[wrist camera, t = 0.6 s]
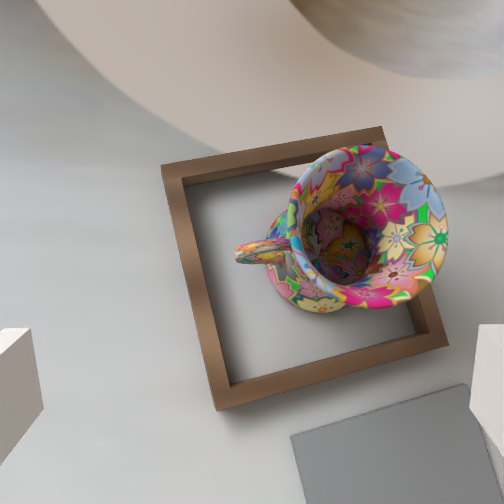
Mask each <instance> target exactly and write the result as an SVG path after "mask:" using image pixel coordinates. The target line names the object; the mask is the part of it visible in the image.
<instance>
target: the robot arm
mask: <svg viewBox="0 0 504 504" xmlns="http://www.w3.org/2000/svg"><path fill="white" fill-rule="evenodd" d="M469 408H470V410H471V411H472V412H473V414H474V415H475V417H476V418H477V420H478V421H479V422H480V424H481V425H482V427H483V428H484V430H485V431H486V432H487V434H488V435H489V437H490V438H491V440H492V441H493V442H494V444H495V445H496V447H497V448H498V450H499V451H500V452H501V454H502V455H503V457H504V324H479V331H478V339H477V347H476V355H475V364H474V372H473V380H472V388H471V397H470V405H469ZM43 409H44V408H43V401H42V395H41V389H40V383H39V377H38V371H37V365H36V359H35V353H34V347H33V341H32V335H31V329H30V328H4V329H3V330H2V331H1V332H0V465H1V464H2V463H3V461H4V460H5V459H6V457H7V456H8V455H9V453H10V452H11V451H12V450H13V448H14V447H15V446H16V444H17V443H18V442H19V440H20V439H21V438H22V436H23V435H24V434H25V432H26V431H27V430H28V429H29V427H30V426H31V425H32V423H33V422H34V421H35V419H36V418H37V417H38V415H39V414H40V413H41V412H42V410H43Z"/></svg>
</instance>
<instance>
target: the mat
mask: <svg viewBox="0 0 504 504" xmlns="http://www.w3.org/2000/svg"><path fill="white" fill-rule="evenodd" d="M469 405H470V394H469V390H468V387H467V384H460V385H456V386H453V387H450V388H447V389H443V390H440V391H437V392H433V393H430V394H427V395H424V396H420V397H417V398H414V399H410V400H407V401H404V402H400V403H397V404H394V405H391V406H387V407H384V408H381V409H377V410H374V411H371V412H368V413H364V414H361V415H358V416H354V417H351V418H348V419H344V420H341V421H338V422H335V423H331V424H328V425H325V426H321V427H318V428H315V429H312V430H308V431H305V432H302V433H298V434H295V435H292V436H290V438H291V442H292V446H293V450H294V454H295V458H296V462H297V466H298V470H299V474H300V478H301V482H302V486H303V490H304V494H305V498H306V502H307V504H504V503H503V500H502V497H501V494H500V491H499V487H498V484H497V481H496V478H495V474H494V471H493V468H492V465H491V461H490V458H489V455H488V452H487V449H486V445H485V442H484V439H483V436H482V432H481V429H480V426H479V423H478V420H477V418H476V417H475V415H474V414H473V412H472V411H471V410H470V408H469Z"/></svg>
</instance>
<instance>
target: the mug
mask: <svg viewBox="0 0 504 504" xmlns="http://www.w3.org/2000/svg"><path fill="white" fill-rule="evenodd" d="M447 244H448V224H447V218H446V213H445V210H444V206H443V204H442V201H441V199H440V196H439V195H438V193H437V191H436V189H435V187H434V186H433V184H432V183H431V182H430V180H429V179H428V178H427V177H426V175H425V174H424V173H423V172H422V171H421V170H420V169H419V168H417V166H415V165H414V164H413V163H411V162H410V161H409V160H407V159H405V158H404V157H402V156H400V155H398V154H396V153H394V152H392V151H389V150H386V149H383V148H379V147H374V146H365V145H357V146H348V147H343V148H340V149H336V150H334V151H331V152H329V153H327V154H325V155H323V156H322V157H320V158H319V159H317V160H316V161H315V162H313V163H312V164H311V165H310V166H309V167H308V168H307V169H306V170H305V172H304V173H303V174H302V175H301V177H300V178H299V180H298V181H297V183H296V185H295V187H294V189H293V192H292V194H291V197H290V201H289V205H288V209H287V210H286V211H285V212H283V213H282V214H281V215H280V216H279V217H278V218H277V219H276V220H275V222H274V223H273V225H272V226H271V228H270V230H269V232H268V235H267V238H266V240H260V241H255V242H251V243H248V244H244V245H241V246H239V247H237V248H236V249H235V250H234V258H235V260H236V261H237V262H238V263H242V264H265V266H266V270H267V273H268V276H269V278H270V280H271V282H272V284H273V285H274V287H275V288H276V290H277V291H278V292H279V293H280V294H281V295H282V296H283V297H284V298H285V299H286V300H287V301H289V302H290V303H292V304H293V305H295V306H297V307H299V308H301V309H304V310H307V311H311V312H318V313H326V312H333V311H337V310H340V309H343V308H345V307H347V306H349V305H351V306H355V307H359V308H366V309H382V308H389V307H393V306H397V305H400V304H402V303H405V302H407V301H409V300H411V299H413V298H414V297H416V296H417V295H419V294H420V293H421V292H422V291H423V290H425V289H426V288H427V286H428V285H429V284H430V283H431V282H432V281H433V279H434V278H435V276H436V275H437V273H438V272H439V270H440V268H441V266H442V263H443V260H444V258H445V254H446V250H447Z"/></svg>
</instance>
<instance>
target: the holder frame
mask: <svg viewBox="0 0 504 504" xmlns="http://www.w3.org/2000/svg"><path fill="white" fill-rule="evenodd" d="M357 145H365V146H374V147H379V148H383V149H386V150H389V148H388V145H387V142H386V139H385V136H384V132H383V129H382V126H379V127H373V128H367V129H362V130H356V131H351V132H345V133H339V134H333V135H328V136H322V137H316V138H311V139H305V140H300V141H294V142H288V143H283V144H277V145H271V146H266V147H260V148H255V149H249V150H243V151H238V152H232V153H226V154H221V155H215V156H209V157H204V158H198V159H193V160H187V161H181V162H176V163H170V164H164V165H161V173H162V179H163V183H164V187H165V192H166V196H167V200H168V205H169V209H170V214H171V218H172V222H173V227H174V231H175V236H176V240H177V244H178V249H179V253H180V258H181V262H182V266H183V271H184V275H185V280H186V284H187V288H188V293H189V297H190V301H191V306H192V310H193V315H194V319H195V323H196V328H197V332H198V337H199V341H200V345H201V350H202V354H203V359H204V363H205V367H206V372H207V376H208V380H209V385H210V389H211V394H212V398H213V402H214V407H215V409H216V411H219V410H223V409H227V408H230V407H234V406H237V405H241V404H244V403H248V402H251V401H255V400H258V399H262V398H265V397H269V396H272V395H276V394H279V393H283V392H286V391H290V390H293V389H297V388H300V387H304V386H308V385H311V384H315V383H318V382H322V381H325V380H329V379H332V378H336V377H339V376H343V375H346V374H350V373H353V372H357V371H360V370H364V369H367V368H371V367H374V366H378V365H381V364H385V363H389V362H392V361H396V360H399V359H403V358H406V357H410V356H413V355H417V354H420V353H424V352H427V351H431V350H434V349H438V348H441V347H445V346H448V345H449V343H448V340H447V337H446V333H445V330H444V327H443V324H442V320H441V317H440V314H439V311H438V307H437V304H436V301H435V298H434V294H433V291H432V288H431V285H430V284H429V285H428V286H427V288H426V289H425V290H423V291H422V292H421V293H420V294H419V295H417V296H416V297H414V298H413V299H411V300H409V301H407V305H408V308H409V311H410V315H411V318H412V321H413V325H414V328H415V331H416V334H413V335H410V336H406V337H402V338H399V339H395V340H391V341H388V342H384V343H380V344H377V345H373V346H369V347H366V348H362V349H359V350H355V351H351V352H348V353H344V354H340V355H337V356H333V357H329V358H326V359H322V360H318V361H315V362H311V363H308V364H304V365H300V366H297V367H293V368H289V369H286V370H282V371H278V372H275V373H271V374H267V375H264V376H260V377H257V378H253V379H249V380H246V381H242V382H238V383H235V384H231V385H229V381H228V377H227V372H226V368H225V364H224V360H223V355H222V351H221V347H220V342H219V338H218V334H217V330H216V325H215V321H214V317H213V313H212V308H211V304H210V300H209V295H208V291H207V287H206V283H205V278H204V274H203V270H202V266H201V261H200V257H199V253H198V248H197V244H196V240H195V236H194V231H193V227H192V223H191V219H190V214H189V210H188V206H187V201H186V197H185V193H184V189H183V186H188V185H194V184H199V183H204V182H210V181H215V180H220V179H225V178H231V177H236V176H241V175H247V174H252V173H257V172H263V171H268V170H273V169H278V168H284V167H289V166H295V165H300V164H305V163H311V162H315V161H316V160H317V159H319V158H320V157H322V156H323V155H325V154H327V153H329V152H331V151H334V150H336V149H340V148H343V147H348V146H357Z"/></svg>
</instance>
